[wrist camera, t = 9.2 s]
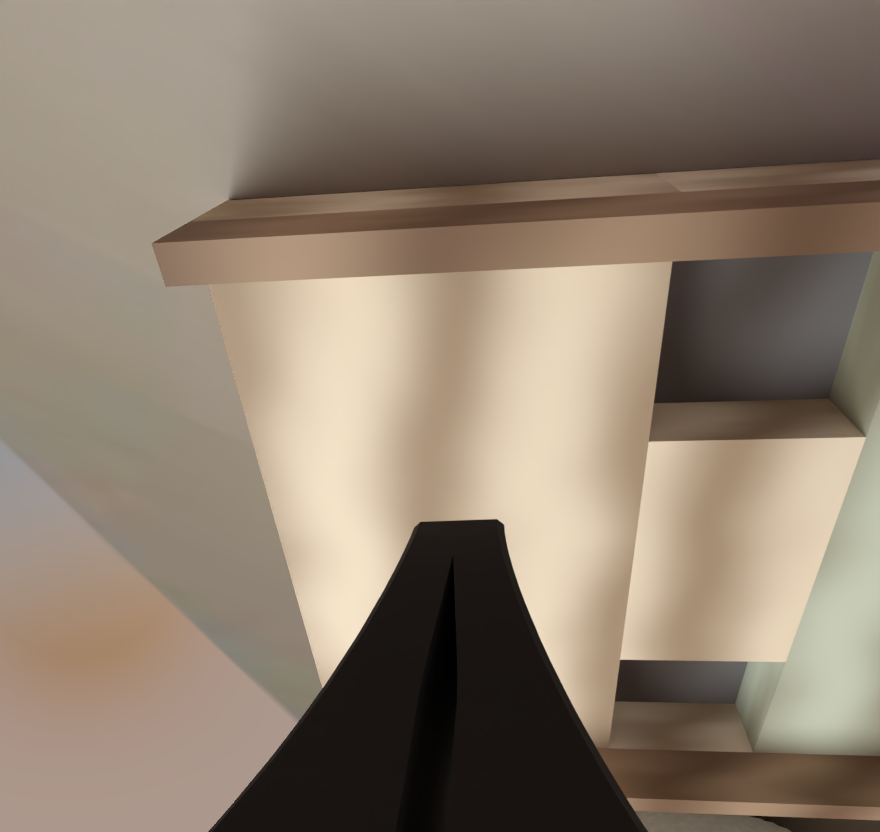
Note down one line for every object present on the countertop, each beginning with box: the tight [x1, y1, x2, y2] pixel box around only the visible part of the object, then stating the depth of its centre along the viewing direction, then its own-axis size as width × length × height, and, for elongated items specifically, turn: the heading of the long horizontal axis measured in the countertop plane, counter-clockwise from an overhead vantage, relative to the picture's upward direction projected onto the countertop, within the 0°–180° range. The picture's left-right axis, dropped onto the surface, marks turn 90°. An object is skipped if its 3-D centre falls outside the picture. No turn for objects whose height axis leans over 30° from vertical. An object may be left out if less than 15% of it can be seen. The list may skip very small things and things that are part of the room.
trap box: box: [152, 159, 880, 820], centre depth 20 cm, size 29×24×5 cm
